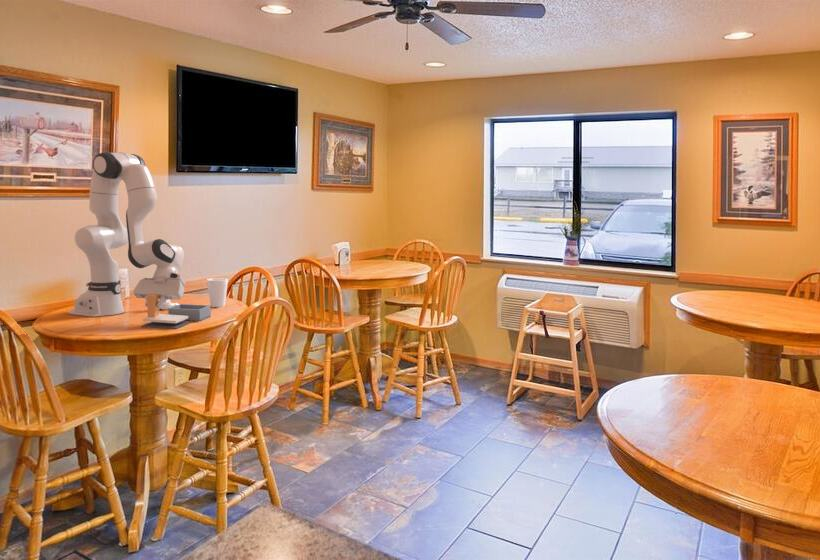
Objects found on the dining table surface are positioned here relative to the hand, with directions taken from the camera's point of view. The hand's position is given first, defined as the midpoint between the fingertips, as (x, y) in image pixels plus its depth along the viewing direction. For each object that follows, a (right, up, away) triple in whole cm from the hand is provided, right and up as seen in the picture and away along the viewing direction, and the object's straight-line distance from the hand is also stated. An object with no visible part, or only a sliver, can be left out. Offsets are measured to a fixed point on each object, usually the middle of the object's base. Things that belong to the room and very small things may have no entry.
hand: (152, 306), depth 243 cm
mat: (+5, -8, +1) cm, 9 cm away
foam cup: (+13, -2, +41) cm, 43 cm away
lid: (+5, -5, +1) cm, 8 cm away
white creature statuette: (-8, -3, +33) cm, 34 cm away
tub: (+10, -6, +15) cm, 19 cm away
